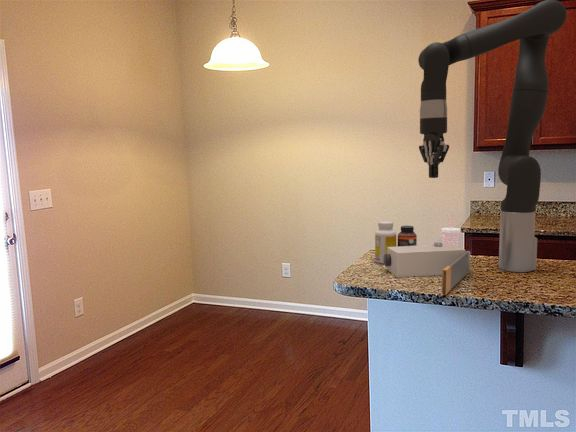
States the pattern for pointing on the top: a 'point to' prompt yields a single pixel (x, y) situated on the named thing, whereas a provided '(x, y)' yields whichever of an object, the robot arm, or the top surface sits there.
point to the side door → (455, 272)
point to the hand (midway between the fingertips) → (433, 177)
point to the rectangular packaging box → (421, 259)
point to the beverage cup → (450, 234)
